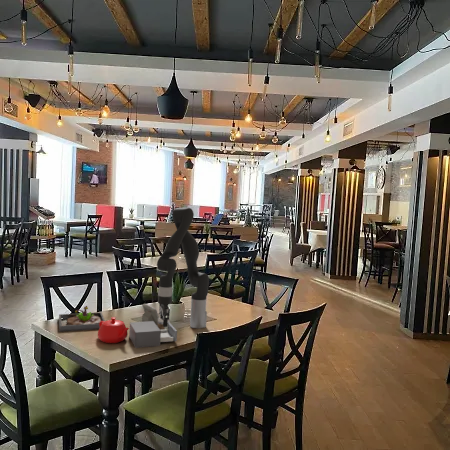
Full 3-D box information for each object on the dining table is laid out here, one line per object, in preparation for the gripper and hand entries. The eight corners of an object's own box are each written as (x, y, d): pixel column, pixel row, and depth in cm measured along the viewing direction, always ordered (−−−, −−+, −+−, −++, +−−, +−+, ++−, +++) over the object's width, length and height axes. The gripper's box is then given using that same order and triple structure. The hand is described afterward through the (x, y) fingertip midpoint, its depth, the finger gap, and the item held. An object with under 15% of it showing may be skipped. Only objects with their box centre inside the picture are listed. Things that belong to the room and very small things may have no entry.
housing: (152, 335, 236) (153, 321, 235) (160, 345, 219) (160, 330, 219) (129, 336, 231) (129, 322, 230) (135, 347, 214) (135, 332, 214)
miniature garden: (71, 330, 237) (71, 311, 237) (63, 321, 254) (64, 303, 253) (106, 326, 248) (106, 307, 248) (96, 317, 265) (97, 300, 264)
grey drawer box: (169, 332, 238) (170, 322, 237) (177, 341, 224) (177, 330, 224) (147, 334, 233) (147, 324, 232) (153, 343, 219) (153, 332, 219)
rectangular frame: (101, 316, 266) (101, 312, 266) (105, 328, 243) (106, 323, 243) (59, 319, 256) (59, 314, 256) (59, 331, 233) (59, 326, 233)
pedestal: (163, 330, 245) (163, 321, 245) (165, 332, 241) (165, 323, 241) (156, 330, 244) (157, 322, 243) (158, 332, 240) (158, 324, 240)
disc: (167, 320, 232) (168, 317, 232) (170, 323, 226) (171, 320, 226) (156, 321, 230) (156, 317, 230) (159, 324, 224) (159, 320, 224)
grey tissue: (161, 326, 253) (161, 308, 253) (146, 327, 250) (147, 309, 249) (154, 318, 268) (154, 302, 268) (140, 319, 265) (140, 303, 264)
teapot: (87, 338, 225) (87, 315, 224) (111, 332, 237) (112, 310, 237) (115, 350, 210) (116, 326, 209) (140, 343, 222) (141, 320, 221)
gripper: (175, 297, 222) (173, 328, 223) (168, 291, 236) (167, 321, 236) (161, 297, 219) (159, 329, 220) (155, 292, 233) (153, 321, 234)
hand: (163, 324), depth 228 cm, fingers closed on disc, 6 cm apart
